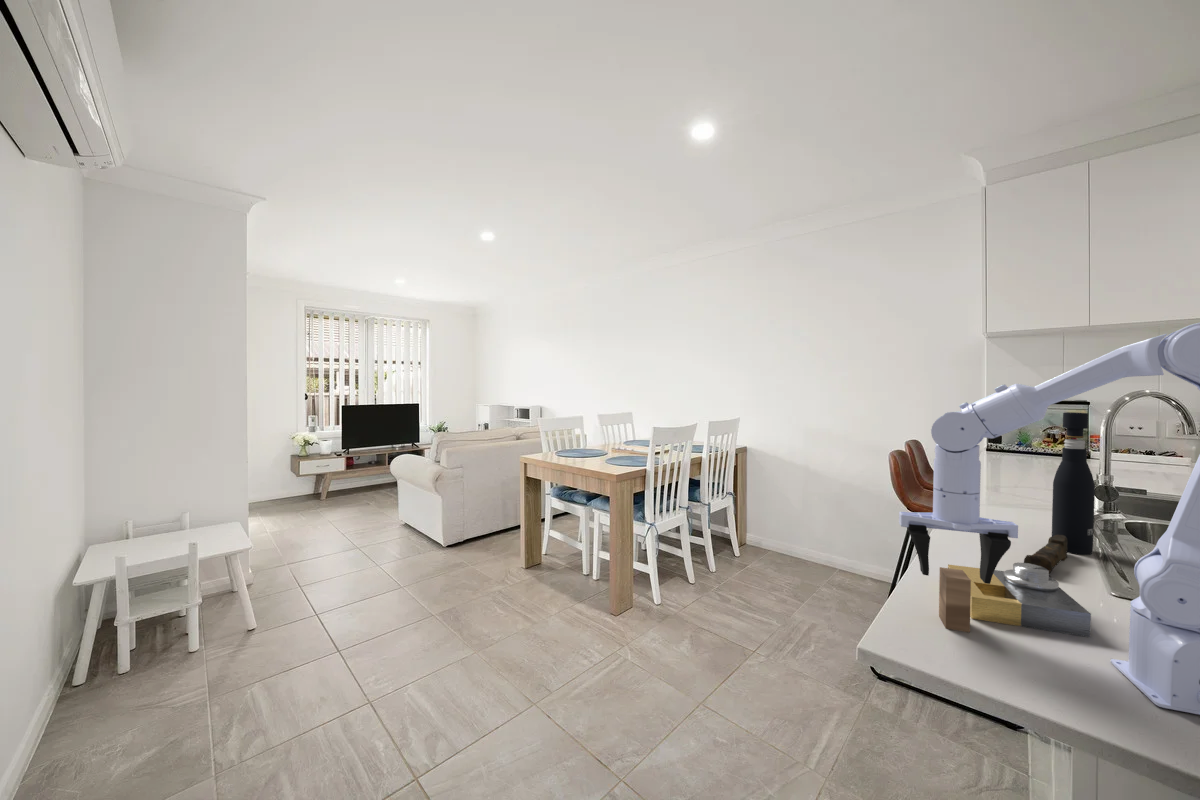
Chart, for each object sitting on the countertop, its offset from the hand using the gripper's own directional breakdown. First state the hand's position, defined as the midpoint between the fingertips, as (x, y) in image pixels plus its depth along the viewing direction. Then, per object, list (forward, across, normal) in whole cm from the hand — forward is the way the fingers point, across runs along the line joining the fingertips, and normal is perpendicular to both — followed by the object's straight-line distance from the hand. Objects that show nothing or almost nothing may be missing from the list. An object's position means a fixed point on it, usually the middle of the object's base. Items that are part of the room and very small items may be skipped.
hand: (954, 576), depth 72 cm
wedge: (+8, 0, 0) cm, 8 cm away
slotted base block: (+7, +10, +10) cm, 16 cm away
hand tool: (+8, +24, +36) cm, 44 cm away
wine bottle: (+8, +32, +47) cm, 57 cm away
